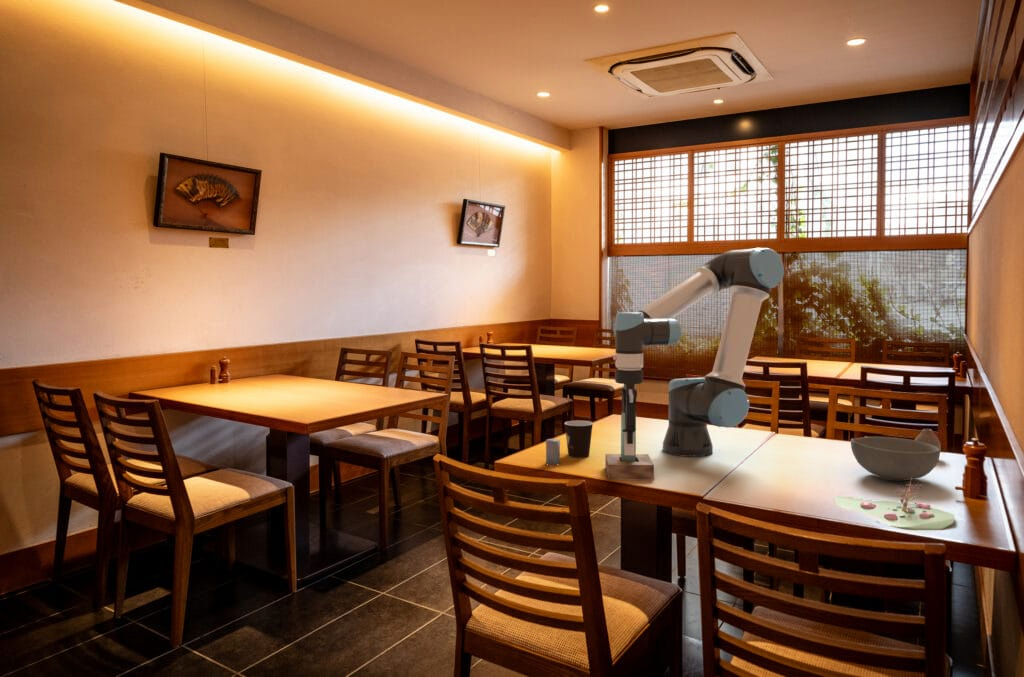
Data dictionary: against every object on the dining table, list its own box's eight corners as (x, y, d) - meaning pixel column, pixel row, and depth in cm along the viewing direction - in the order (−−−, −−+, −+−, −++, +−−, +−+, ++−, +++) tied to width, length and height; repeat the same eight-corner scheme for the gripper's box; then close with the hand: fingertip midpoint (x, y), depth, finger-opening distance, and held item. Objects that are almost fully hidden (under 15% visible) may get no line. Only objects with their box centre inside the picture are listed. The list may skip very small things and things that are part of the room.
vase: (938, 457, 200) (939, 428, 200) (942, 462, 194) (943, 432, 194) (911, 455, 203) (912, 426, 203) (914, 460, 197) (915, 430, 196)
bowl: (939, 494, 164) (940, 454, 164) (846, 482, 175) (847, 444, 174) (938, 475, 181) (939, 438, 181) (853, 465, 192) (854, 430, 191)
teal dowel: (634, 462, 188) (635, 412, 187) (636, 466, 184) (636, 415, 183) (620, 462, 188) (620, 412, 187) (621, 465, 184) (621, 415, 183)
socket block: (647, 468, 192) (648, 454, 191) (653, 479, 180) (653, 465, 179) (605, 467, 192) (605, 453, 192) (608, 479, 180) (608, 464, 180)
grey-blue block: (559, 462, 199) (559, 438, 199) (559, 465, 195) (559, 441, 195) (546, 462, 200) (546, 438, 199) (546, 465, 196) (545, 441, 195)
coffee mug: (591, 459, 202) (591, 426, 202) (562, 458, 204) (562, 425, 203) (594, 450, 214) (594, 419, 213) (567, 449, 215) (567, 418, 215)
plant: (816, 514, 153) (817, 475, 152) (842, 493, 168) (843, 457, 168) (946, 540, 136) (948, 496, 136) (962, 514, 152) (963, 474, 151)
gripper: (612, 365, 193) (612, 445, 194) (618, 372, 176) (617, 460, 177) (639, 365, 192) (638, 446, 194) (647, 372, 175) (646, 460, 177)
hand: (628, 452), depth 186 cm, fingers closed on teal dowel, 4 cm apart
